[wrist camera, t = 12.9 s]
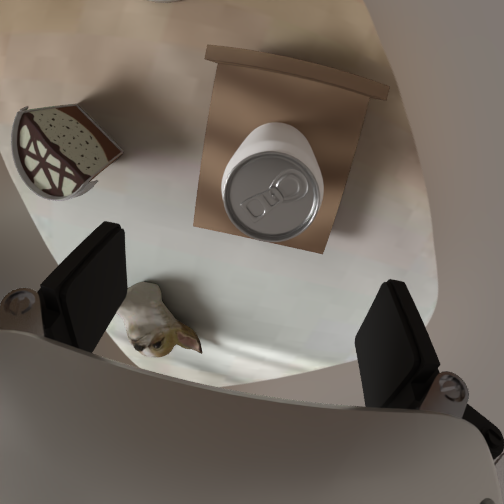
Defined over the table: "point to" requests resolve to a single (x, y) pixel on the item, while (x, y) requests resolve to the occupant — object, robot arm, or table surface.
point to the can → (273, 184)
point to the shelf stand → (283, 111)
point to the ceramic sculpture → (153, 323)
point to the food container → (60, 150)
